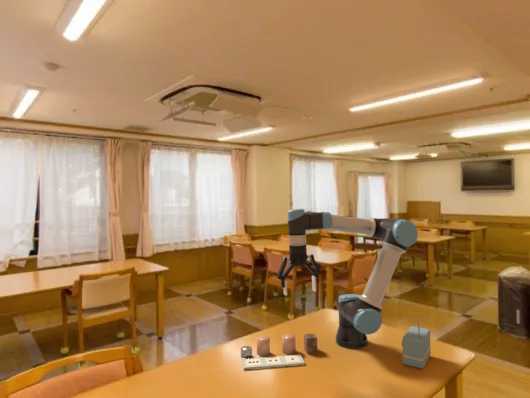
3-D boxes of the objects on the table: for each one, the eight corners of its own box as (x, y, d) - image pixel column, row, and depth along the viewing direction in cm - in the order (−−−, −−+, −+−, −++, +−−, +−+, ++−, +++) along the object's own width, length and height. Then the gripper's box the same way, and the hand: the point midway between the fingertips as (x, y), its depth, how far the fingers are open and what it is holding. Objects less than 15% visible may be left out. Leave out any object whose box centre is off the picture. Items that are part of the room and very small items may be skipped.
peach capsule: (294, 348, 164) (293, 333, 164) (296, 354, 158) (296, 338, 158) (281, 349, 163) (281, 334, 163) (284, 355, 157) (283, 339, 157)
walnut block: (314, 348, 163) (314, 333, 163) (317, 352, 158) (317, 337, 159) (304, 349, 163) (303, 334, 163) (306, 353, 158) (306, 338, 158)
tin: (251, 354, 159) (251, 345, 159) (252, 359, 154) (252, 350, 154) (240, 355, 158) (240, 346, 158) (241, 360, 153) (241, 350, 153)
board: (300, 356, 155) (300, 353, 155) (304, 365, 147) (304, 362, 147) (242, 361, 152) (242, 358, 152) (243, 370, 144) (243, 367, 144)
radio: (409, 351, 158) (408, 307, 158) (430, 356, 153) (429, 311, 153) (400, 365, 145) (399, 317, 145) (423, 371, 140) (422, 321, 140)
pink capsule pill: (269, 350, 162) (268, 335, 162) (270, 356, 156) (270, 340, 156) (256, 351, 162) (256, 336, 162) (257, 357, 156) (257, 341, 156)
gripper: (320, 241, 158) (322, 287, 158) (267, 245, 151) (270, 294, 151) (327, 242, 151) (329, 291, 151) (273, 248, 144) (275, 298, 144)
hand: (300, 292), depth 151 cm, fingers open, 13 cm apart
